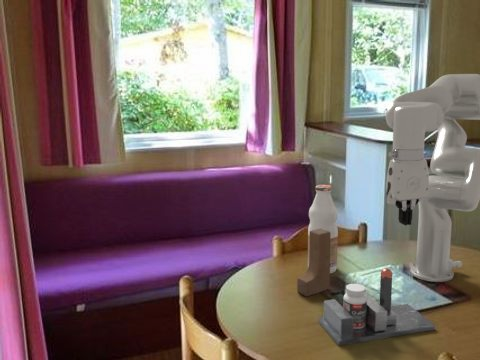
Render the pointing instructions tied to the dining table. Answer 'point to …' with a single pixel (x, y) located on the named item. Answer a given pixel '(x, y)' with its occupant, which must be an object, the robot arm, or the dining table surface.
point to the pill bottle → (356, 304)
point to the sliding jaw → (381, 305)
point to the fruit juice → (325, 220)
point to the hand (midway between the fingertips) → (404, 223)
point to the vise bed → (343, 332)
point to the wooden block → (316, 264)
